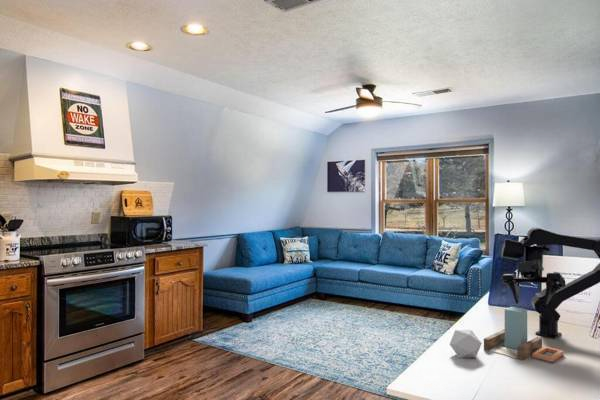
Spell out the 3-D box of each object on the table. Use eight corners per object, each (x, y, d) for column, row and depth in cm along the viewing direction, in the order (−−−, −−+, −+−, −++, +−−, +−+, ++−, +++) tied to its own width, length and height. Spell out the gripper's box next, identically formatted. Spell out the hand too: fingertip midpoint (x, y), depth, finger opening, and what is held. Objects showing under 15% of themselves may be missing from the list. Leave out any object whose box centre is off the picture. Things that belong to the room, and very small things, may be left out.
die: (477, 365, 126) (489, 336, 129) (450, 350, 127) (463, 321, 130) (467, 365, 134) (478, 337, 137) (442, 350, 135) (454, 323, 138)
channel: (504, 339, 146) (504, 329, 146) (542, 348, 137) (542, 337, 137) (483, 349, 137) (483, 338, 137) (522, 360, 128) (522, 348, 128)
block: (511, 343, 142) (511, 306, 142) (527, 347, 138) (527, 309, 138) (504, 347, 139) (504, 309, 139) (520, 351, 135) (520, 312, 135)
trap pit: (544, 350, 135) (544, 346, 135) (563, 355, 131) (563, 350, 131) (532, 358, 130) (532, 353, 130) (552, 363, 125) (552, 358, 125)
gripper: (497, 252, 153) (492, 293, 145) (554, 249, 139) (553, 293, 132) (509, 267, 159) (506, 306, 151) (566, 265, 145) (565, 308, 138)
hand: (531, 303), depth 143 cm, fingers open, 9 cm apart
